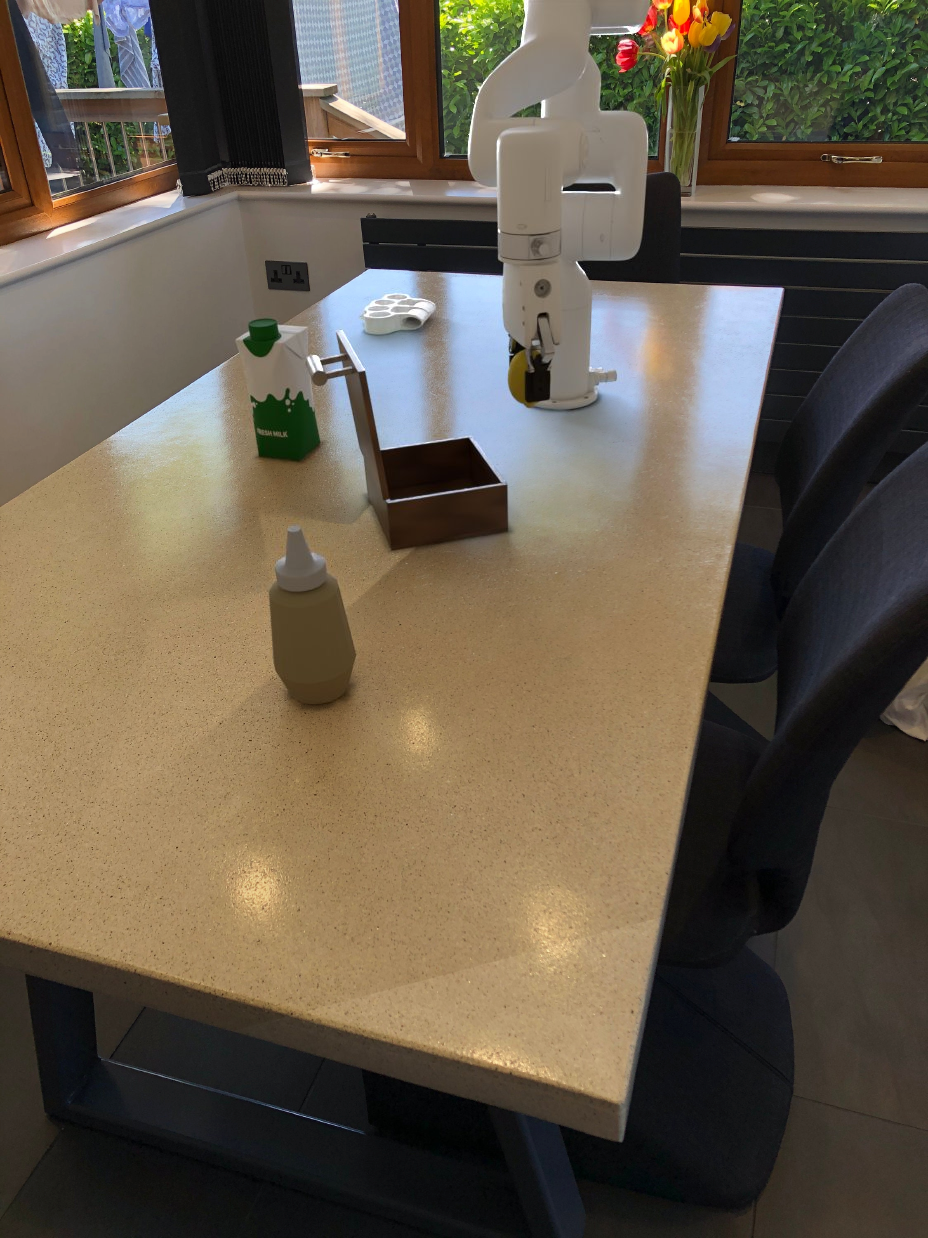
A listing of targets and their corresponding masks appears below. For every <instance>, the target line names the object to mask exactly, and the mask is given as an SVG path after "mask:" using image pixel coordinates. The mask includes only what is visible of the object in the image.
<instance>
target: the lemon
mask: <svg viewBox="0 0 928 1238" xmlns="http://www.w3.org/2000/svg"><path fill="white" fill-rule="evenodd" d="M537 354H540V352H539V351H537V350H535V351H533V358H534V359H535V356H536V355H537ZM525 371H528V367H527V358H526V349H525V350H522V351H520V352H519V353H517V354H516V355H515V356H514V357H513V359H512V361H511V363H510V367H509V366H508V372H507V385H508V390H509V392H510V394H511V396H512V397H513V399H514V400H515V401H516V402H517V403H520V404H521V405H524V407H526V408H527V409H531V408H532V407H534V406H533V405H534V404H536V403H539V402H540V401H539V402H531V403H527V402H526V401H525ZM550 384H551V372H550Z"/></svg>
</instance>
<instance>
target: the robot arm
mask: <svg viewBox="0 0 928 1238" xmlns="http://www.w3.org/2000/svg"><path fill="white" fill-rule="evenodd" d="M650 5H651V0H523V7H524V14H525V17H524V21H523V29H522V34H521V42H520V46H519V47H518V48H516V49H515V50H514V51H512V53H510V54H509V55H508V56H507V57H506V58H505V59H503V60H502V61H501V62H500V63H499V64H498V65H497V66H496V67H495V68H494V69H493V70H492V71H491V72H490V74H489V75H487V77H486V78H485V80H484V82H483V83H482V85H481V86H480V88H479V90H478V93H477V95H476V97H475V100H474V102H475V103H474V106H473V112H472V117H471V123H470V129H469V136H468V141H467V142H468V145H467V162H468V163H467V164H468V169H469V171H470V174H471V176H472V178H473V179H474V181H476V182H477V184H479V185H481V186H484V187H487V188H496V193H497V194H496V196H497V198H496V201H497V202H496V204H497V205H496V206H497V207H496V209H497V259H498V261H500V262H502V263H503V269H502V296H501V297H502V301H501V302H502V303H501V304H502V322H503V327H504V329H505V331H506V332H507V336H508V337H509V340H508V354H509V355H508V368H509V367H510V363H511V361H512V359H513V357H514V356H515V355H516V354H517V353H519V352H520V351H522V350H525V349H526V358H527V367H528V371H525V401H526V402H527V403H531V402H539V401H540V402H539V403H536V404H534V405H533V407H536V408H540V409H545V410H546V409H547V410H559V411H560V410H562V411H563V410H573V409H579V408H583V407H586V406H589V405H591V404H592V403H594V402H595V401H596V400H597V399H598V395H599V389H598V387H597V386H599V385H600V384H603V383H614V382H616V381H617V379H618V374H617V370H615V369H609V370H604V368H603V367H595V368H592V367H591V366H590V363H591V362H590V361H591V339H592V338H591V337H592V336H591V335H592V310H593V289H592V283H591V282H590V279H589V278H588V276H587V274H586V273H585V271H584V270H583V269H582V267H581V266H580V264H579V263H578V262H583V261H595V262H596V261H603V262H604V261H606V262H607V261H608V262H609V261H610V262H611V261H613V262H614V261H615V262H616V261H626V260H627V261H628V260H630V259H632V258H634V257H635V256H636V255H637V253H638V252H639V250H640V247H641V243H642V239H643V230H644V221H645V220H644V219H645V204H646V203H645V202H646V189H647V177H648V176H647V173H648V161H649V133H648V128H647V127H648V126H647V124H646V120H645V119H644V118H643V116H642V115H641V114H640V113H637V112H635V111H631V110H601V108H600V101H601V85H602V74H601V70H600V68H599V66H598V64H597V62H596V60H594V57H593V56H592V55H591V53H590V52H589V49H590V39H591V36H594V35H595V36H598V35H599V36H600V35H625V34H626V35H627V34H635V33H637V32H639V31H640V29H642V27H643V26H644V25H645V22H646V21H647V17H648V14H649V10H650ZM538 103H541V110H540V111H541V112H540V117H537V116H521V117H519V116H518V117H517V116H515V117H512V116H513V115H515V114H517V113H518V112H520V111H522V110H524V109H526V108H529V107H531V106H533V105H536V104H538ZM574 184H610V185H612V186H613V187H614V189H615V191H563V190H564V189H563V188H567V187H570V186H572V185H574ZM535 350H537V351H539V352H540V354H537V355H536V356H535V359H534V358H533V351H535ZM550 372H551V384H550Z"/></svg>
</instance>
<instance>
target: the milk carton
mask: <svg viewBox="0 0 928 1238" xmlns="http://www.w3.org/2000/svg"><path fill="white" fill-rule="evenodd" d="M247 326H248V331H247V332H245V333H243V334H242V335H240V336H239V337H237V338H235V340H234V342H235V344H236V348H237V350H238V354H239V356H240V358H241V362H242V366H243V371H244V376H245V381H246V387H247V393H248V399H249V404H250V409H251V415H252V416H251V417H252V420H253V421H252V422H253V428H254V429H253V430H254V434H255V441H256V448H257V454H258V457H259V458H268V459H277V460H285V461H291V462H292V461H293V462H301V461H302V460H303V459H304V458H306V457H307V455H308V454H310V453H311V452H313V450H314V449H315V448H316V447H318V446H319V445H320V444H321V443H322V442H321V438H320V432H319V426H318V422H317V417H316V408H315V401H314V395H313V388H312V387H313V386H312V379H311V377H310V374H309V372H308V369H307V367H306V364H305V361H306V359H307V357H309V346H308V345H309V344H308V342H309V337H308V336H309V333H308V330H309V329H308V328H309V327H308V326H302V325H301V326H299V325H286V324H285V325H283V324H278V321H277V320H276V319H274V318H268V317H266V318H258V319H253V320H251V321H249V322H248V323H247Z"/></svg>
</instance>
